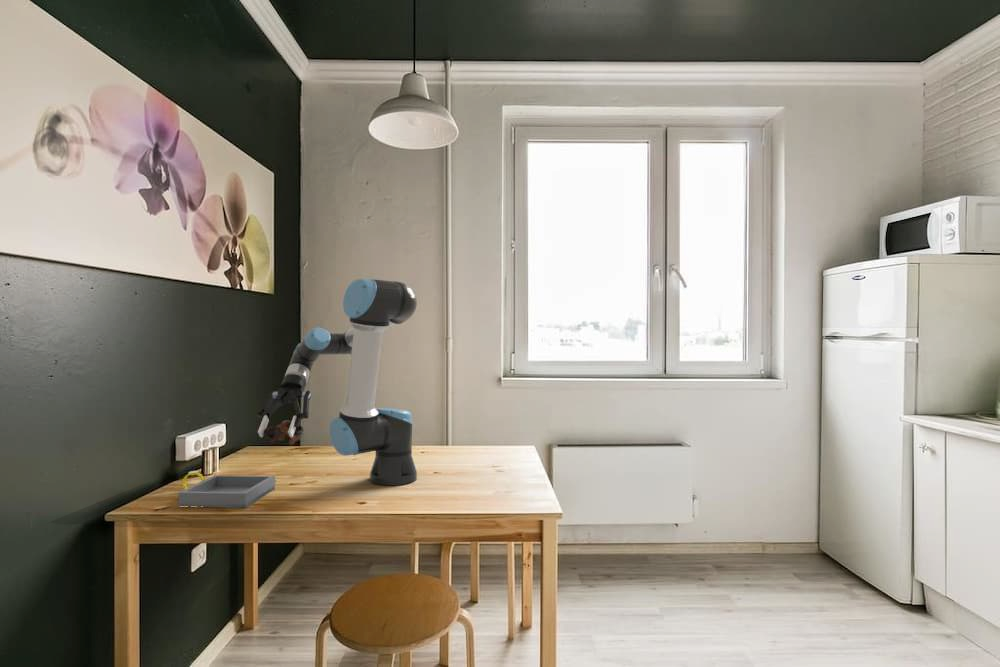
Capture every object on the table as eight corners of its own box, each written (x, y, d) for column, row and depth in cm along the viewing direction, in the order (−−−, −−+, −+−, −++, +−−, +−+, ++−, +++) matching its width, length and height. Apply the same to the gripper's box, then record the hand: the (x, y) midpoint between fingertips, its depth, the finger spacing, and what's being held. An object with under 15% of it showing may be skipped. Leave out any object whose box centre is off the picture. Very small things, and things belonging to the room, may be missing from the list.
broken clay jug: (289, 440, 183) (300, 419, 182) (298, 456, 176) (310, 435, 175) (255, 436, 174) (266, 414, 173) (263, 453, 168) (275, 431, 167)
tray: (274, 489, 165) (274, 475, 165) (245, 508, 146) (245, 493, 146) (215, 488, 165) (215, 475, 165) (178, 507, 146) (178, 492, 146)
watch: (181, 493, 160) (180, 473, 160) (186, 491, 163) (185, 471, 163) (202, 492, 161) (200, 472, 161) (206, 489, 163) (205, 469, 163)
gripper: (329, 387, 188) (312, 441, 172) (267, 386, 189) (245, 441, 173) (324, 373, 183) (306, 428, 167) (260, 372, 183) (236, 427, 167)
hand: (275, 434), depth 170 cm, fingers closed on broken clay jug, 9 cm apart
